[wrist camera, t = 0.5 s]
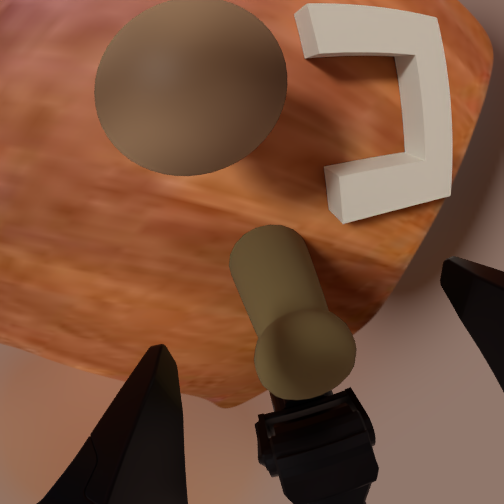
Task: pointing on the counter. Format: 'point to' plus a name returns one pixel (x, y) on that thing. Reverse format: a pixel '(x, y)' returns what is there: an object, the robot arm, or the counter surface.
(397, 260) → the counter surface
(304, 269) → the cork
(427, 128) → the notched board
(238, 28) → the brown spool-shaped piece
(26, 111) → the counter surface
